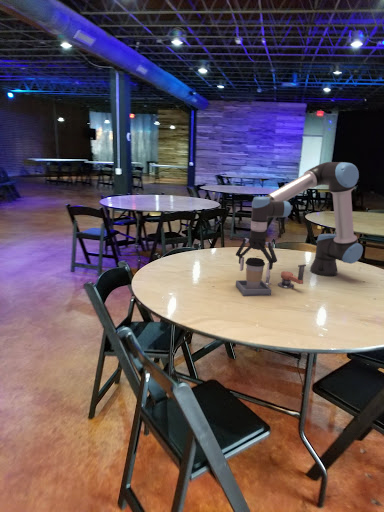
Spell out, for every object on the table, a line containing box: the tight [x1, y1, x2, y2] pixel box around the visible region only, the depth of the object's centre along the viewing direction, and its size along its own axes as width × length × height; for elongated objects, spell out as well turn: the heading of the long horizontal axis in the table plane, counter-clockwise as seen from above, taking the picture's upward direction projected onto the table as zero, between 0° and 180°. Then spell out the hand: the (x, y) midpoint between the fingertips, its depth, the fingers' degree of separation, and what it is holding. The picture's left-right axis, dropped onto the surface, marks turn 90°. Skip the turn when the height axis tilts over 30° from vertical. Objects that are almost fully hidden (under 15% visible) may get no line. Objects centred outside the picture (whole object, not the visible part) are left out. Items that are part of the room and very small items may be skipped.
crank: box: [280, 263, 307, 285], centre depth 172 cm, size 13×6×10 cm, turn 29°
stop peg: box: [263, 270, 272, 286], centre depth 179 cm, size 4×4×7 cm
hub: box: [277, 278, 295, 289], centre depth 177 cm, size 8×8×4 cm
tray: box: [235, 279, 273, 297], centre depth 168 cm, size 14×14×3 cm
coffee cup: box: [244, 257, 266, 289], centre depth 167 cm, size 9×9×15 cm
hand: (254, 273), depth 166 cm, fingers open, 13 cm apart
